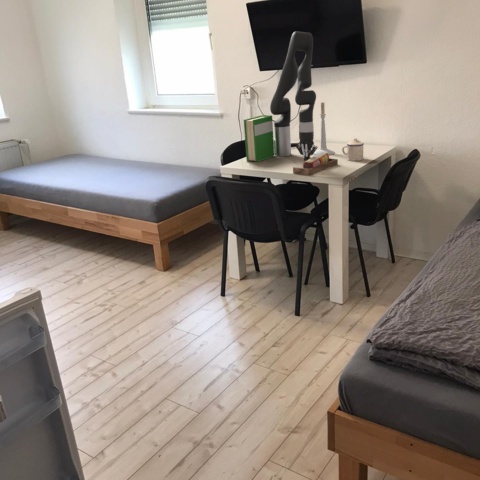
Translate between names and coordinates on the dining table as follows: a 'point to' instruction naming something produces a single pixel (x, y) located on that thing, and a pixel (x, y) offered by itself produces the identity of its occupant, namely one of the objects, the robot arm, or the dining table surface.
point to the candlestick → (323, 134)
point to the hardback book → (259, 138)
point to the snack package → (316, 160)
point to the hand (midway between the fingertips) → (306, 163)
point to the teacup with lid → (354, 150)
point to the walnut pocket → (316, 168)
